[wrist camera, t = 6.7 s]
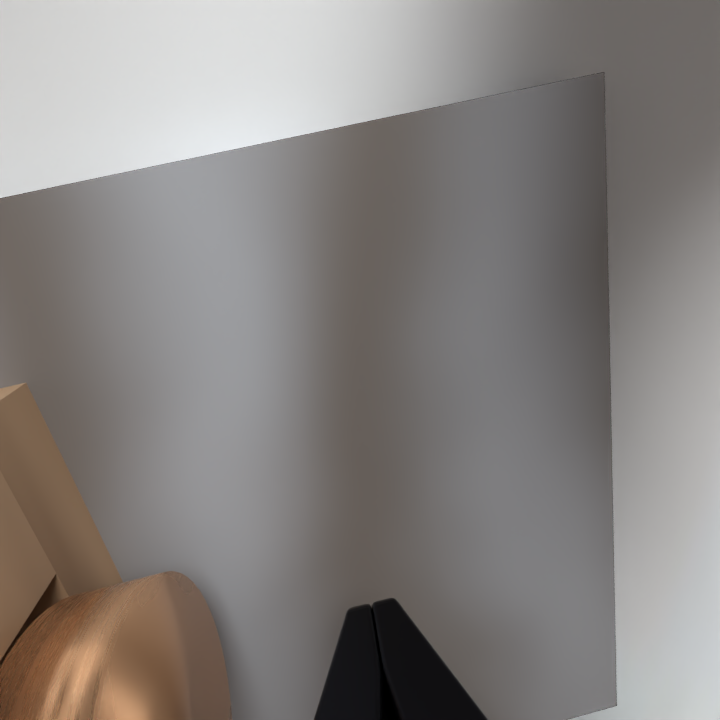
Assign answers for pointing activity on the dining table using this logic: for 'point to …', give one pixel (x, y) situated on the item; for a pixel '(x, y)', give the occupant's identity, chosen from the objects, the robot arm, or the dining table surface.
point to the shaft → (120, 657)
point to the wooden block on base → (330, 396)
